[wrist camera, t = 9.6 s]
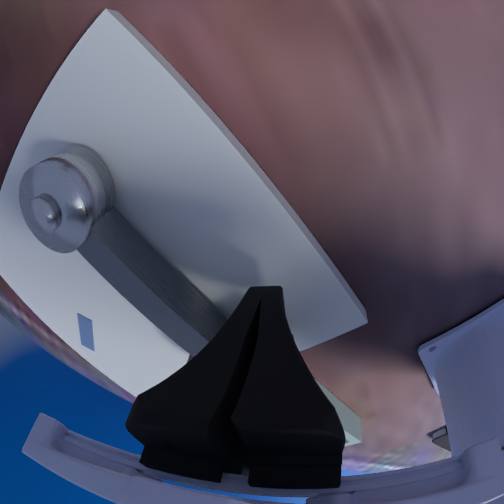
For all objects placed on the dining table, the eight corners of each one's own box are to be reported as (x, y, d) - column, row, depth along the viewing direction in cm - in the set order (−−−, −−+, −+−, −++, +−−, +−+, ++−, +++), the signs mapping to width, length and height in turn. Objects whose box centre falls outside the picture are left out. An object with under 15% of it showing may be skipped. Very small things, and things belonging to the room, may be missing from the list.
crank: (36, 196, 12) (-2, 223, 10) (87, 111, 10) (37, 128, 7) (211, 366, 17) (200, 407, 15) (294, 335, 15) (291, 384, 12)
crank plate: (117, 11, 8) (104, 8, 7) (365, 309, 15) (368, 324, 14) (-10, 246, 17) (-18, 254, 16) (142, 390, 24) (139, 400, 23)
